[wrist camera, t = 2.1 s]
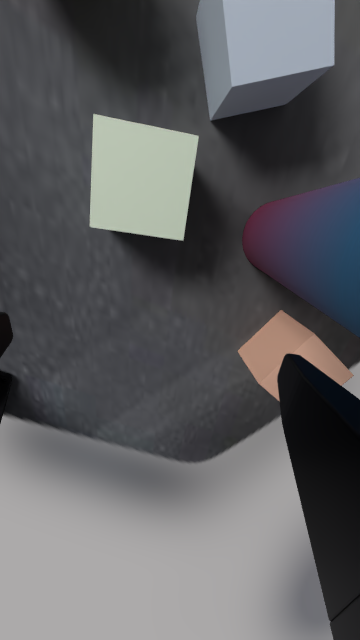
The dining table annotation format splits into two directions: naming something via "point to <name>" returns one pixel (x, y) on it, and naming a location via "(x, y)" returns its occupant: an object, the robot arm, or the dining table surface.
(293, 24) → the block slate
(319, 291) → the cup
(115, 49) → the dining table surface
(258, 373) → the block terracotta
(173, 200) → the block sage
